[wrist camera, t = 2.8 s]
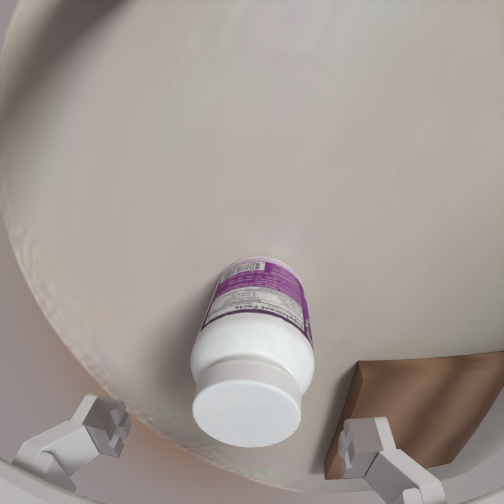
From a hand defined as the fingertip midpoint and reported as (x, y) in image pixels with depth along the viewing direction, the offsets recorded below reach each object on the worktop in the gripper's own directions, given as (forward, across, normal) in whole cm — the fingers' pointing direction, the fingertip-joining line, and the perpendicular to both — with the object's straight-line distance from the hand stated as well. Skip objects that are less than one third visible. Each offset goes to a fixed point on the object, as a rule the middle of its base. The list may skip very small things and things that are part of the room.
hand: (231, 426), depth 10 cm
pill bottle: (+10, -1, 0) cm, 10 cm away
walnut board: (+10, -15, +12) cm, 21 cm away
